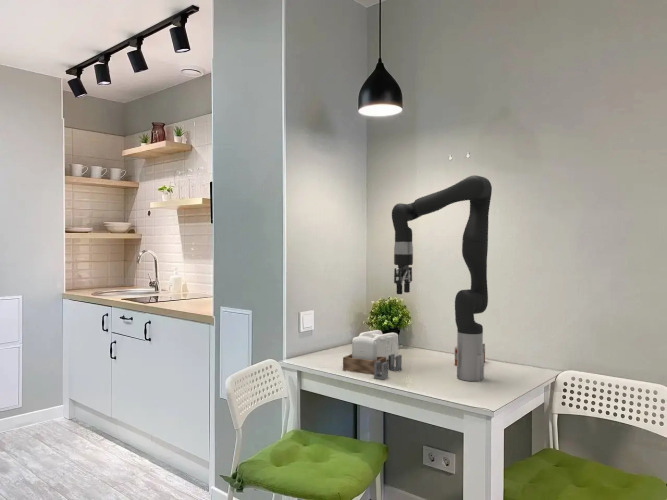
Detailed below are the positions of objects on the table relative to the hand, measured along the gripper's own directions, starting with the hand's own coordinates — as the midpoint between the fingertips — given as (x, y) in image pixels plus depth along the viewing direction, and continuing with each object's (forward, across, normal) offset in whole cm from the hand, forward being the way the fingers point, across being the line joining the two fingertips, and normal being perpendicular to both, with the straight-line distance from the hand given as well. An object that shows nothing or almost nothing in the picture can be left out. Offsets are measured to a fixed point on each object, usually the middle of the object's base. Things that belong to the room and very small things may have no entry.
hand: (403, 293), depth 215 cm
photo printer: (+29, -12, +12) cm, 34 cm away
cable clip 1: (+30, -20, +1) cm, 36 cm away
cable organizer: (+30, +8, +14) cm, 34 cm away
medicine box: (+30, +20, -22) cm, 43 cm away
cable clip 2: (+30, -6, +1) cm, 31 cm away
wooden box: (+30, -12, +12) cm, 34 cm away
